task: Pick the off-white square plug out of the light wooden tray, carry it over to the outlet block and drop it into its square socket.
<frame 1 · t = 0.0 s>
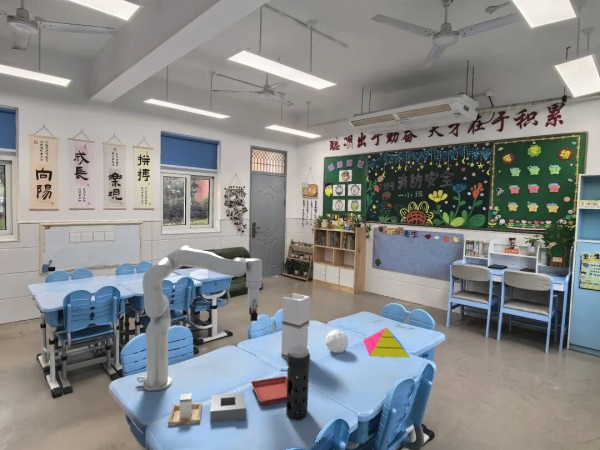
hand: (253, 317, 179), 31 cm above the table, tool pointing down, fingers open, 9 cm apart
pyramid toy: (385, 350, 222), on the table
geodesic sphere: (336, 352, 215), on the table
plug: (185, 415, 148), point 1 cm above the table, touching tray
muzzle brake: (297, 414, 153), on the table
plant saucer: (273, 394, 168), on the table
outlet block: (227, 412, 152), on the table
tray: (185, 416, 148), on the table
white banded pillar: (294, 356, 207), on the table
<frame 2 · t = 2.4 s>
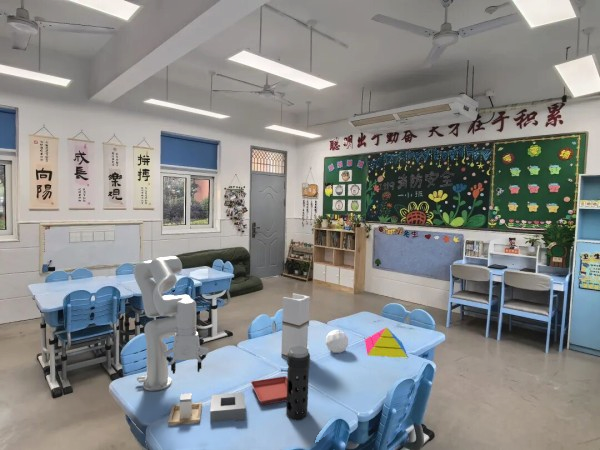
hand: (186, 371, 147), 19 cm above the table, tool pointing down, fingers open, 9 cm apart
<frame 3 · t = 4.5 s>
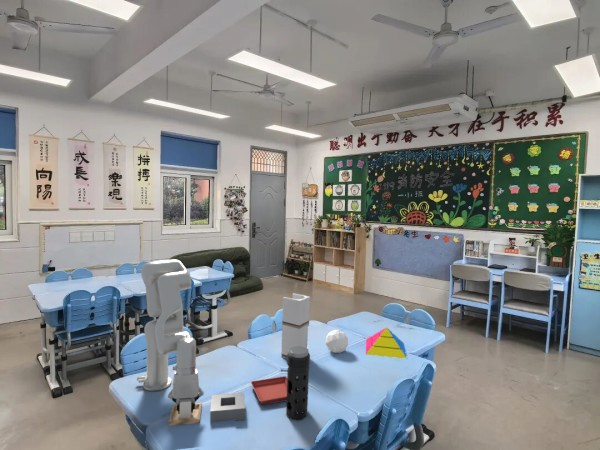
hand: (185, 411, 148), 2 cm above the table, tool pointing down, fingers closed on plug, 4 cm apart
plug: (185, 415, 148), point 1 cm above the table, touching gripper, tray
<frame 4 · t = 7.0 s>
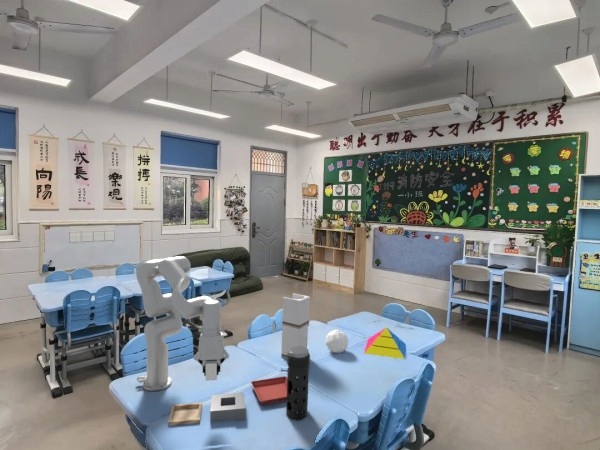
hand: (211, 373, 149), 18 cm above the table, tool pointing down, fingers closed on plug, 4 cm apart
plug: (211, 377, 149), point 16 cm above the table, touching gripper
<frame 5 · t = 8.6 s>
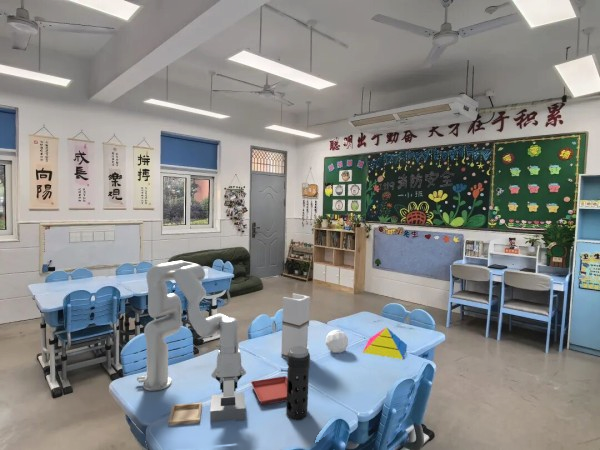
hand: (228, 390, 151), 10 cm above the table, tool pointing down, fingers closed on plug, 4 cm apart
plug: (228, 394, 151), point 8 cm above the table, touching gripper
when the fingers open (6 cm above the table, at t = 9.8 s): plug drops 3 cm, resting on outlet block.
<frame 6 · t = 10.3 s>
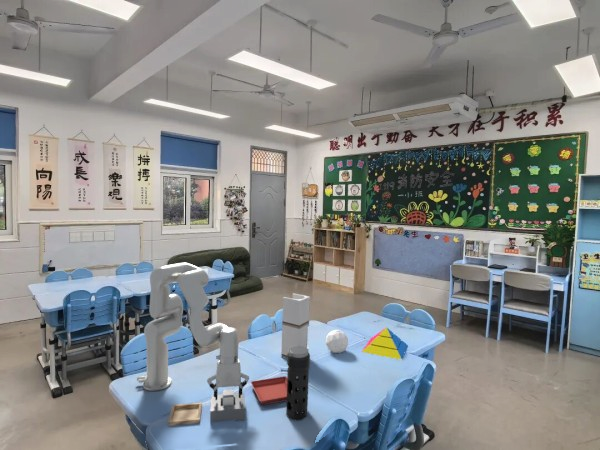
hand: (228, 397, 151), 7 cm above the table, tool pointing down, fingers open, 9 cm apart
plug: (227, 410, 152), point 1 cm above the table, touching outlet block
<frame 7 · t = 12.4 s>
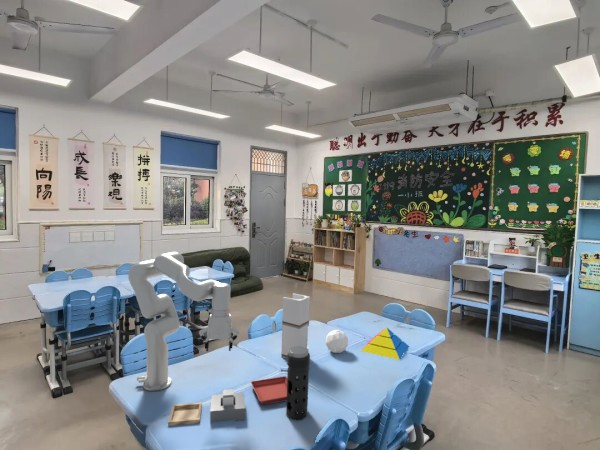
hand: (218, 349, 158), 24 cm above the table, tool pointing down, fingers open, 9 cm apart
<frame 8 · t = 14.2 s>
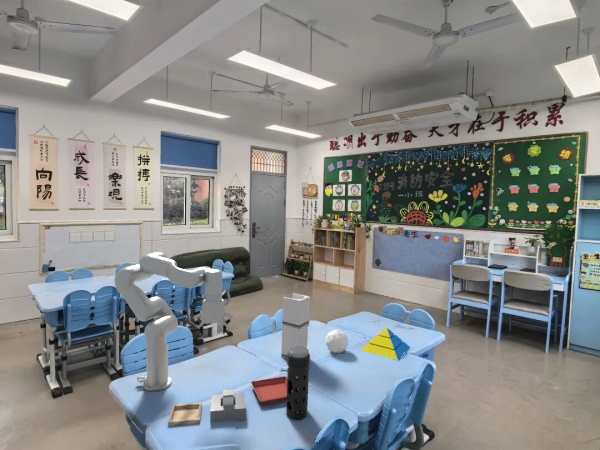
hand: (213, 333, 164), 28 cm above the table, tool pointing down, fingers open, 9 cm apart
at the end: plug 0.0 cm off-centre on the outlet block, point 1.0 cm above the outlet block's base; plug tilted 0°; the gripper is holding nothing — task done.
